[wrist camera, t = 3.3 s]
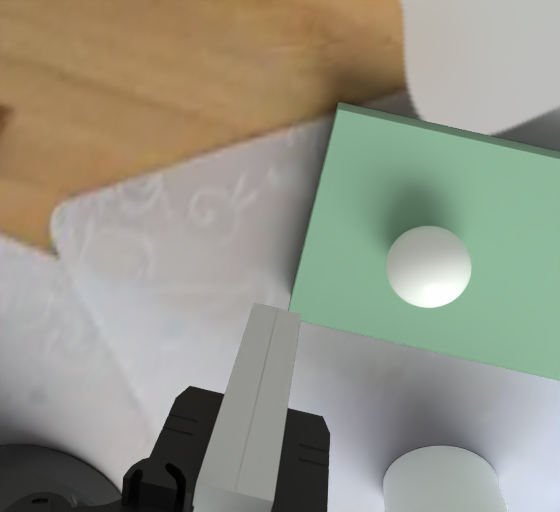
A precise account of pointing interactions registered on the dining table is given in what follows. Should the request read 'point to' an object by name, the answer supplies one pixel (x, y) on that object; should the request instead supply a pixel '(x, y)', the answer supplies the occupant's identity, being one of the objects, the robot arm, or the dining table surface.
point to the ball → (428, 266)
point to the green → (446, 214)
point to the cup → (442, 482)
